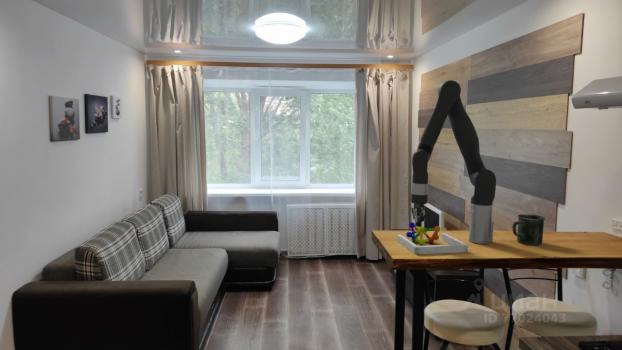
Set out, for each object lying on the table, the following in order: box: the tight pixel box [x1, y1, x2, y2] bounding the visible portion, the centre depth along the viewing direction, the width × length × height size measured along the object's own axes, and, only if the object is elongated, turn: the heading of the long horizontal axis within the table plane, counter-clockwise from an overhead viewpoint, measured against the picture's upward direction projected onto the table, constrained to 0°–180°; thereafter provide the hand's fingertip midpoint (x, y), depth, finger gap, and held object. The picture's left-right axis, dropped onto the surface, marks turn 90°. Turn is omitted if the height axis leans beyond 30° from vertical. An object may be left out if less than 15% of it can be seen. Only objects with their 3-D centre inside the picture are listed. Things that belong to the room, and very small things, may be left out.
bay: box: [396, 232, 469, 255], centre depth 189 cm, size 23×20×3 cm
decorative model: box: [405, 221, 441, 246], centre depth 195 cm, size 13×9×15 cm
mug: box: [511, 213, 546, 246], centre depth 196 cm, size 11×15×12 cm
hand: (417, 229), depth 202 cm, fingers closed
